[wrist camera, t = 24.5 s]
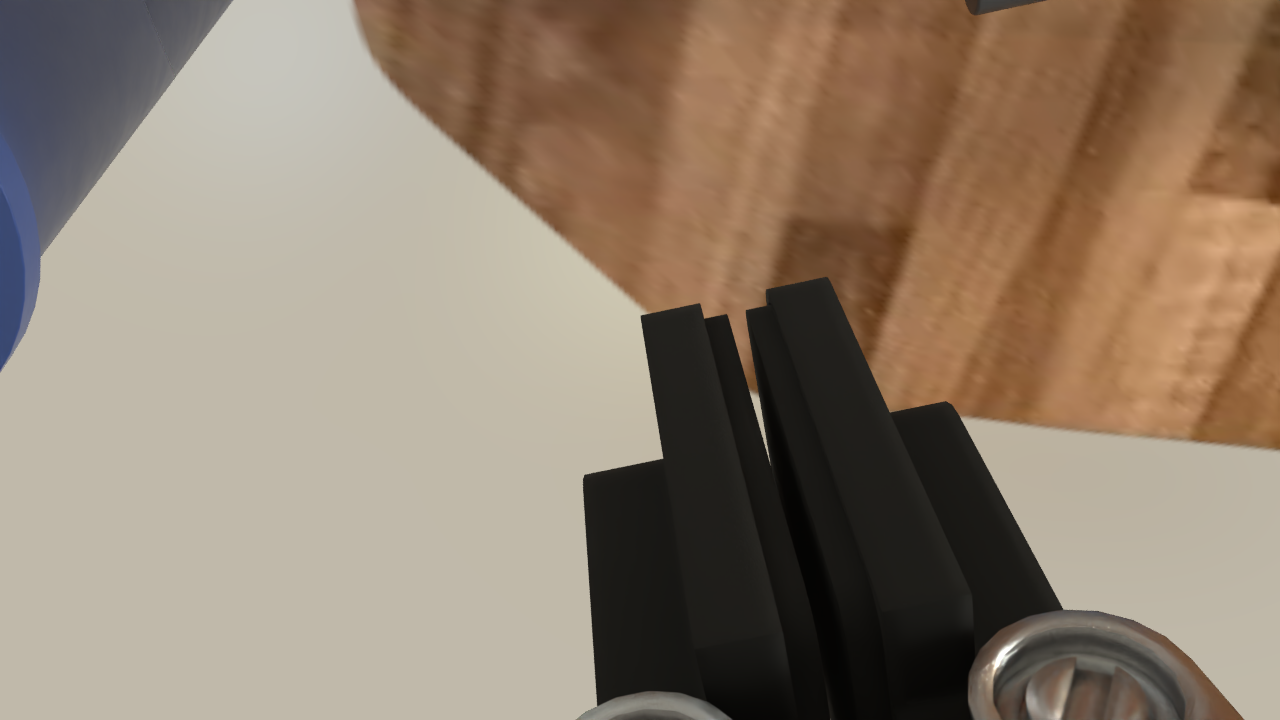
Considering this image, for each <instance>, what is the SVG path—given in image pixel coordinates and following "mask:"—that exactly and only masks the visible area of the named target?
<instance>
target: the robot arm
mask: <svg viewBox="0 0 1280 720" xmlns="http://www.w3.org/2000/svg"><path fill="white" fill-rule="evenodd" d="M766 301H767V306H764V307H759V308H754V309H749V310H746V319H747V325H748V332H749V338H750V344H751V350H752V356H753V362H754V368H755V374H756V380H757V386H758V392H759V398H760V403H761V409H762V416H763V422H764V427H765V433H766V439H767V445H768V451H769V458H770V462H769V459H768V455H767V452H766V448H765V444H764V442H763V437H762V435H761V431H760V427H759V424H758V420H757V417H756V413H755V410H754V406H753V403H752V399H751V396H750V392H749V389H748V385H747V382H746V378H745V375H744V371H743V368H742V364H741V361H740V357H739V354H738V350H737V347H736V343H735V340H734V336H733V333H732V329H731V326H730V322H729V319H728V316H727V314H725V315H720V316H716V317H711V318H706V319H704V317H703V313H702V309H701V305H700V303H699V304H694V305H689V306H684V307H680V308H675V309H670V310H665V311H660V312H656V313H651V314H646V315H641V323H642V329H643V335H644V341H645V347H646V354H647V359H648V366H649V372H650V378H651V384H652V391H653V397H654V403H655V409H656V415H657V422H658V428H659V434H660V440H661V446H662V452H663V459H660V460H655V461H650V462H645V463H640V464H636V465H631V466H626V467H621V468H616V469H611V470H607V471H601V472H596V473H591V474H587V475H584V478H583V493H584V510H585V525H586V540H587V555H588V570H589V586H590V602H591V617H592V633H593V646H594V647H593V648H594V663H595V679H596V694H597V707H595V708H593V709H591V710H588V711H587V712H585V713H584V714H582V715H581V716H580V717H579V718H578V719H576V720H1244V719H1243V718H1242V717H1241V715H1240V714H1239V713H1238V712H1237V711H1236V710H1235V708H1234V707H1233V706H1232V705H1231V704H1230V703H1229V702H1228V701H1227V699H1226V698H1225V697H1224V696H1223V695H1222V693H1221V692H1220V691H1219V690H1218V689H1217V688H1216V687H1215V685H1213V683H1212V682H1211V681H1210V680H1209V679H1208V677H1206V675H1205V674H1204V673H1203V672H1202V671H1201V669H1200V668H1199V667H1198V666H1197V665H1196V664H1195V662H1194V661H1193V660H1192V659H1191V658H1190V657H1189V656H1187V655H1186V654H1185V653H1184V652H1183V651H1182V650H1180V649H1179V648H1178V647H1177V646H1176V645H1175V644H1174V643H1172V642H1171V641H1170V640H1169V639H1168V638H1167V637H1165V636H1163V635H1161V634H1159V633H1158V632H1155V631H1153V630H1152V629H1150V628H1148V627H1146V626H1144V625H1142V624H1140V623H1138V622H1136V621H1134V620H1130V619H1127V618H1123V617H1119V616H1115V615H1110V614H1107V613H1103V612H1099V611H1082V610H1063V608H1062V606H1061V604H1060V602H1059V600H1058V599H1057V597H1056V595H1055V593H1054V591H1053V589H1052V587H1051V586H1050V584H1049V582H1048V580H1047V578H1046V576H1045V574H1044V573H1043V571H1042V569H1041V567H1040V565H1039V563H1038V561H1037V560H1036V558H1035V556H1034V554H1033V552H1032V550H1031V548H1030V547H1029V545H1028V543H1027V541H1026V539H1025V537H1024V535H1023V534H1022V532H1021V530H1020V528H1019V526H1018V524H1017V523H1016V521H1015V519H1014V517H1013V515H1012V513H1011V511H1010V509H1009V508H1008V506H1007V504H1006V502H1005V500H1004V498H1003V496H1002V495H1001V493H1000V491H999V489H998V487H997V485H996V484H995V482H994V480H993V478H992V476H991V474H990V472H989V470H988V469H987V467H986V465H985V463H984V461H983V459H982V457H981V455H980V454H979V452H978V450H977V448H976V446H975V444H974V442H973V441H972V439H971V437H970V435H969V433H968V431H967V430H966V428H965V426H964V424H963V422H962V420H961V418H960V416H959V415H958V413H957V412H956V410H955V409H954V407H953V406H952V404H950V403H948V402H946V401H945V402H940V403H935V404H930V405H925V406H920V407H915V408H910V409H906V410H901V411H896V412H891V413H890V412H889V410H888V408H887V406H886V403H885V401H884V399H883V397H882V395H881V392H880V390H879V388H878V386H877V384H876V381H875V379H874V377H873V375H872V373H871V370H870V368H869V366H868V364H867V361H866V359H865V357H864V355H863V353H862V350H861V348H860V346H859V344H858V342H857V339H856V337H855V335H854V333H853V331H852V328H851V326H850V324H849V322H848V320H847V317H846V315H845V313H844V311H843V309H842V306H841V304H840V302H839V300H838V298H837V295H836V293H835V291H834V289H833V286H832V284H831V282H830V281H829V279H828V278H827V277H824V278H819V279H814V280H809V281H805V282H800V283H795V284H790V285H785V286H781V287H776V288H771V289H766ZM770 464H771V465H770ZM830 718H831V719H830Z"/></svg>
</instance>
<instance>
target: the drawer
mask: <svg viewBox="0 0 1280 720" xmlns="http://www.w3.org/2000/svg"><path fill="white" fill-rule="evenodd" d="M1041 1H1045V0H965V2H966V5H967V7H968V9H969V11H970V13H971V14H972V15H980V14H985V13H989V12H994V11H999V10H1003V9H1008V8H1013V7H1017V6H1022V5H1027V4H1031V3H1036V2H1041Z"/></svg>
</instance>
